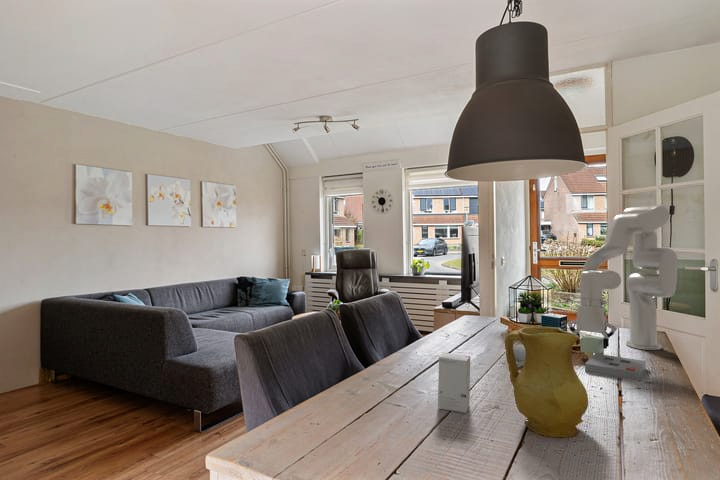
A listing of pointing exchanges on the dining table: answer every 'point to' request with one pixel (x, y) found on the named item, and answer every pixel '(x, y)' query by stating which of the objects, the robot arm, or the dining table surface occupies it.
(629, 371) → the socket plate
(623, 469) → the dining table surface
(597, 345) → the plug
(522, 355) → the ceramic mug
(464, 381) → the skincare box
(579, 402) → the pitcher
